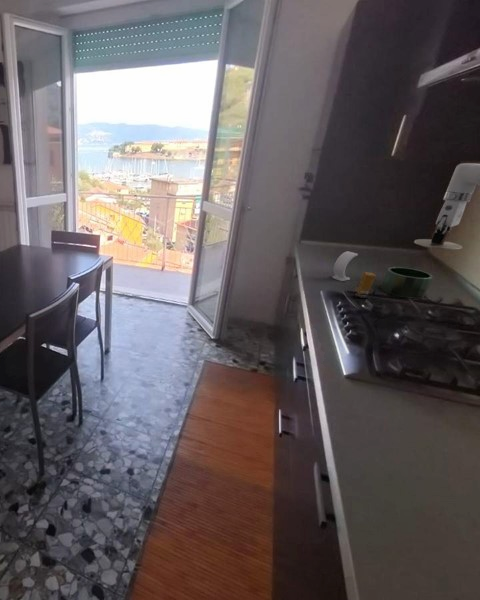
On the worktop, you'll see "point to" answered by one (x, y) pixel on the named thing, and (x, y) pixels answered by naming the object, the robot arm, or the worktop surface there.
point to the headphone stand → (342, 265)
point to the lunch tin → (406, 282)
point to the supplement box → (366, 283)
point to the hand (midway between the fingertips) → (438, 241)
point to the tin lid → (442, 246)
